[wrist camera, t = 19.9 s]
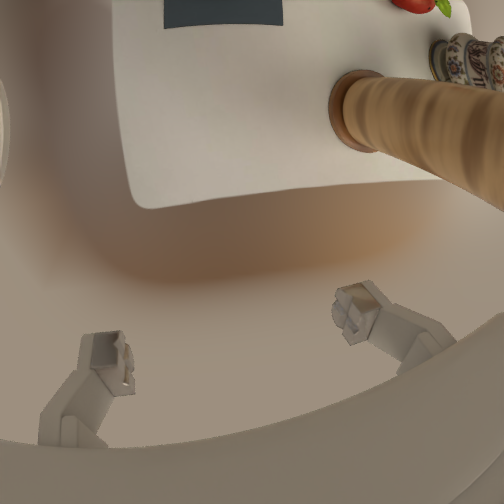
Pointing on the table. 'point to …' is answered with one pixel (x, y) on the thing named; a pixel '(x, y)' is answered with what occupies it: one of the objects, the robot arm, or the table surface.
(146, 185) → the table surface
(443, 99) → the towel stand
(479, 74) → the apothecary jar
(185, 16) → the mat
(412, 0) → the apple
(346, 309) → the robot arm
